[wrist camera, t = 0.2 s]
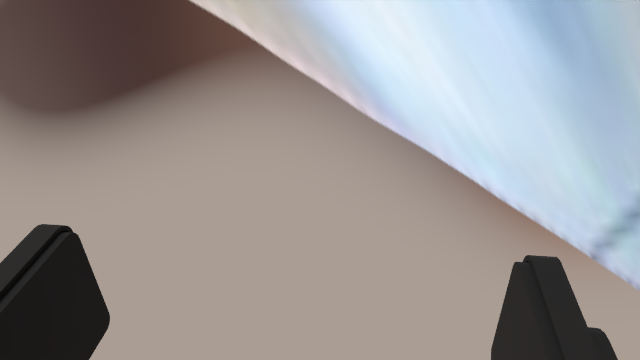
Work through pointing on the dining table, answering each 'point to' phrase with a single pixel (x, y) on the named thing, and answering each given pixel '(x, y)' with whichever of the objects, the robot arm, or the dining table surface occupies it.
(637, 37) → the dining table surface
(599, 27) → the dining table surface
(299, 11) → the dining table surface
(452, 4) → the dining table surface
